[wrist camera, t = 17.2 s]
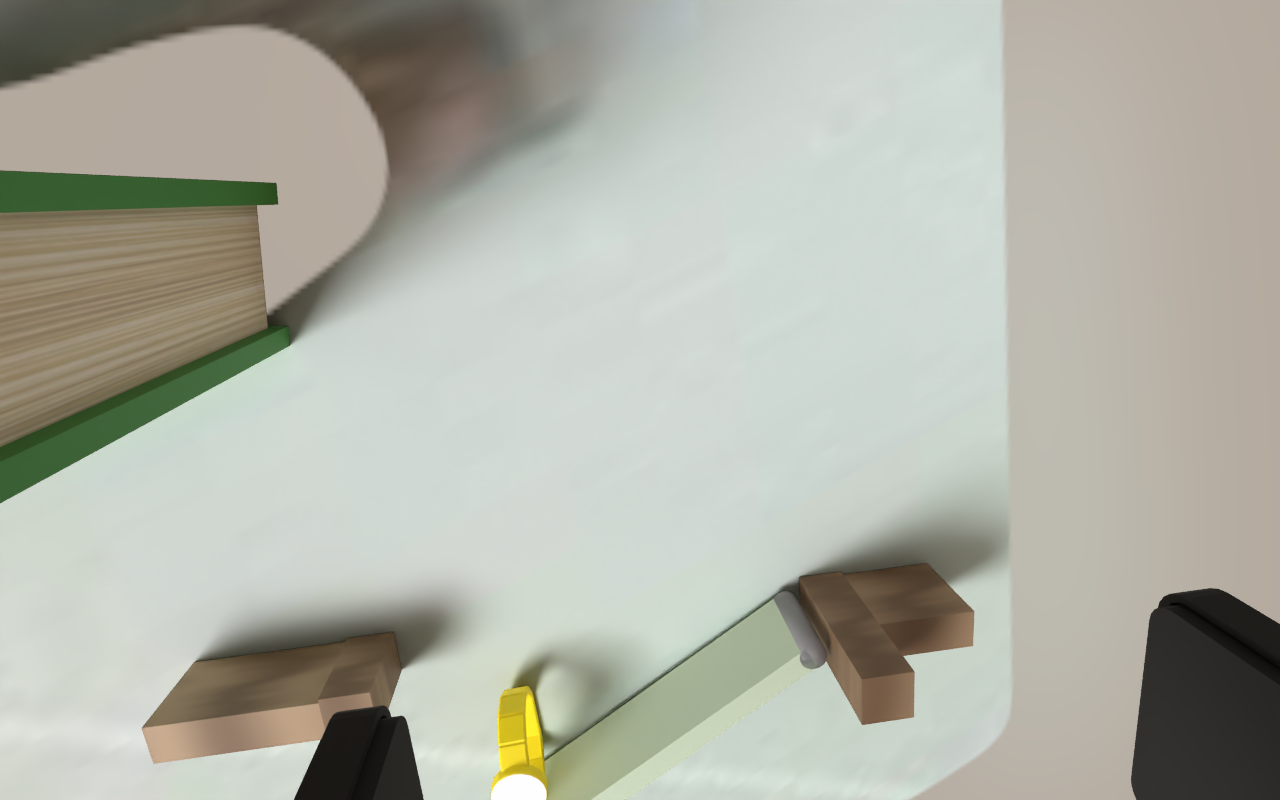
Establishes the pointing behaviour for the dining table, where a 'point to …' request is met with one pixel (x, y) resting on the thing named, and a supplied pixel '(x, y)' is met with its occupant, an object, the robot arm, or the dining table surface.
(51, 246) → the hardback book
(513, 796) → the watch
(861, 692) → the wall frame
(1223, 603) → the robot arm
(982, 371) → the dining table surface
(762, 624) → the pale green flat bar
